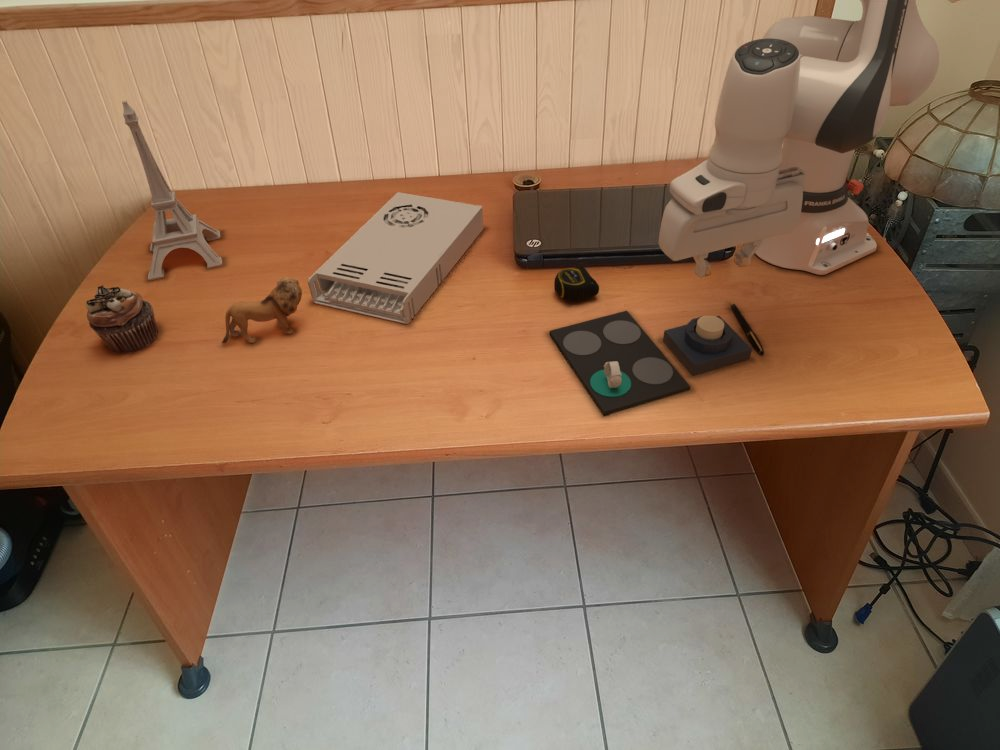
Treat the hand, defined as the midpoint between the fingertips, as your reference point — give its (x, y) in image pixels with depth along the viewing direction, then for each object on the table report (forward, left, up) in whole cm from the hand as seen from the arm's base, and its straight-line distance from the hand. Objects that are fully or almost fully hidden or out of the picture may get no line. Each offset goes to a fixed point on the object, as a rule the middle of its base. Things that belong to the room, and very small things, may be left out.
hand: (721, 269), depth 99 cm
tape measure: (+12, -22, -15) cm, 29 cm away
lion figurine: (+64, -32, -15) cm, 73 cm away
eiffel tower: (+77, -63, -15) cm, 101 cm away
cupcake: (+86, -39, -15) cm, 96 cm away
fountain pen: (-9, -2, -15) cm, 18 cm away
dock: (0, 0, -15) cm, 15 cm away
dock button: (0, 0, -11) cm, 11 cm away
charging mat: (+14, -3, -15) cm, 21 cm away
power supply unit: (+38, -43, -15) cm, 59 cm away
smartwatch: (+18, +2, -14) cm, 23 cm away
